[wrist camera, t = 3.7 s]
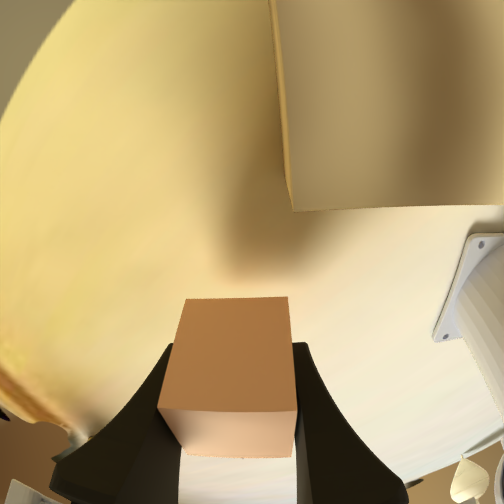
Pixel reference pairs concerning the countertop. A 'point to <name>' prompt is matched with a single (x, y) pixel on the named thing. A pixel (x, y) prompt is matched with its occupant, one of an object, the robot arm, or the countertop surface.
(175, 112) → the countertop surface
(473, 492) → the spinning top
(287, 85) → the beech block
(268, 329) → the terracotta block
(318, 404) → the robot arm
